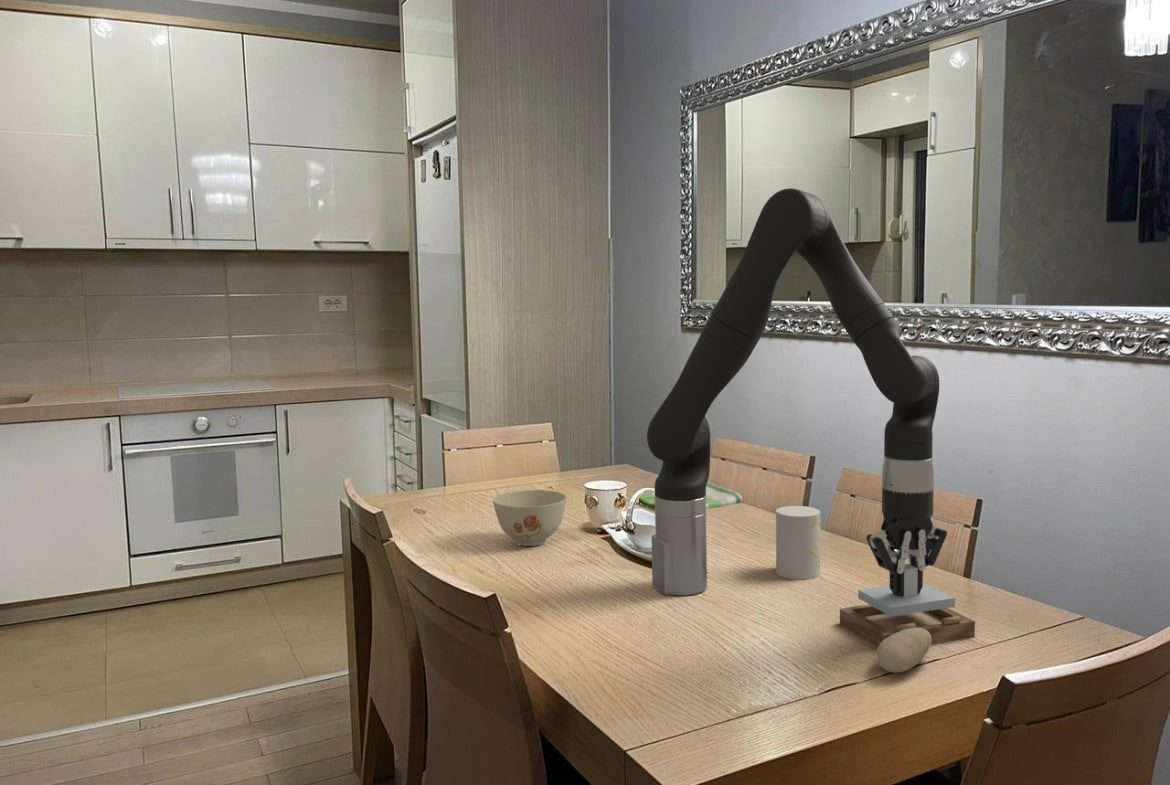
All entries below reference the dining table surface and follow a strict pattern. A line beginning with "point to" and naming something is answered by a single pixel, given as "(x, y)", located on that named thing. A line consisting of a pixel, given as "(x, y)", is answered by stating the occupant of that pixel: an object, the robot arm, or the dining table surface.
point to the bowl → (530, 514)
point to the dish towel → (713, 497)
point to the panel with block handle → (906, 596)
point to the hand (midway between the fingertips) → (906, 593)
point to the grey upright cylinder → (798, 542)
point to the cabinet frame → (906, 623)
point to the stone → (903, 649)
